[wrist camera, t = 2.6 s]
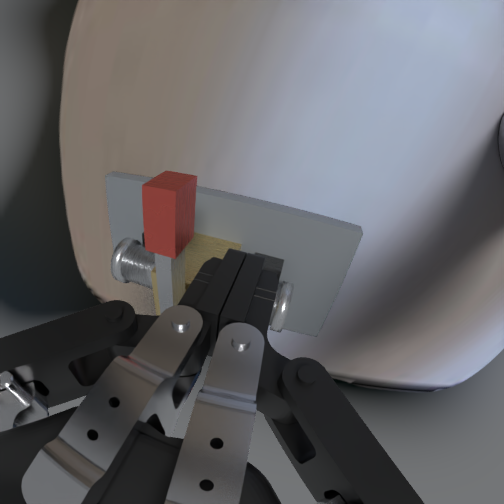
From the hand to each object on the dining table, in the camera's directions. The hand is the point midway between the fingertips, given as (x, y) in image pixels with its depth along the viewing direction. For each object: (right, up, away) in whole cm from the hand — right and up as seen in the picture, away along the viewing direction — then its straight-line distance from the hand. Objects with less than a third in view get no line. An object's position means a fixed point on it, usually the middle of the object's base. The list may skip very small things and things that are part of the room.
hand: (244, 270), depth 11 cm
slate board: (-4, +1, +20) cm, 20 cm away
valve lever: (-5, 0, +9) cm, 10 cm away
